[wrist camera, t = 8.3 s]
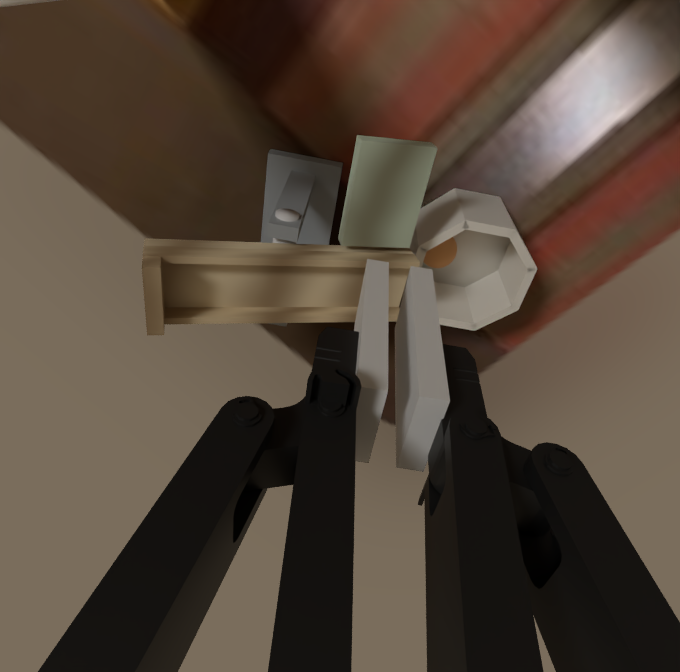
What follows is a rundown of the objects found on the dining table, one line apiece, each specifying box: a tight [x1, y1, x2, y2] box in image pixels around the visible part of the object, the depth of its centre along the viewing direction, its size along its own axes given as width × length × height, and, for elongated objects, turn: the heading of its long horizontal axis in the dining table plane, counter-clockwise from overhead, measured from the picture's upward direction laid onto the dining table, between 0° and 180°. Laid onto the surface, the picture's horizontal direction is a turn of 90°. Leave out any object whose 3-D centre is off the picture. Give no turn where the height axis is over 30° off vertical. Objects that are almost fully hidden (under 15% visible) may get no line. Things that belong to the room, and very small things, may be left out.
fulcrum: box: [261, 149, 343, 326], centre depth 40 cm, size 6×10×12 cm, turn 170°
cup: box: [405, 188, 537, 331], centre depth 42 cm, size 9×9×6 cm
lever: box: [142, 135, 437, 335], centre depth 32 cm, size 18×12×3 cm
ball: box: [423, 237, 457, 268], centre depth 43 cm, size 3×3×3 cm
